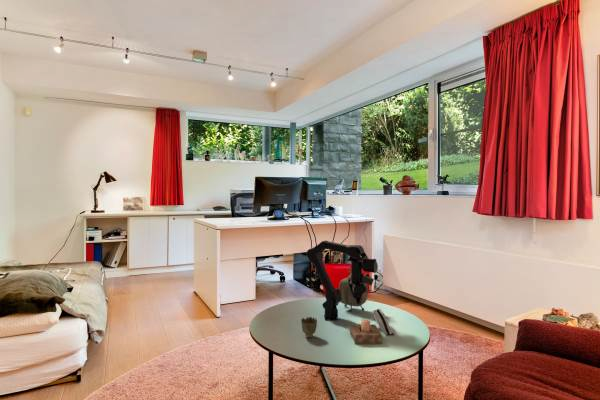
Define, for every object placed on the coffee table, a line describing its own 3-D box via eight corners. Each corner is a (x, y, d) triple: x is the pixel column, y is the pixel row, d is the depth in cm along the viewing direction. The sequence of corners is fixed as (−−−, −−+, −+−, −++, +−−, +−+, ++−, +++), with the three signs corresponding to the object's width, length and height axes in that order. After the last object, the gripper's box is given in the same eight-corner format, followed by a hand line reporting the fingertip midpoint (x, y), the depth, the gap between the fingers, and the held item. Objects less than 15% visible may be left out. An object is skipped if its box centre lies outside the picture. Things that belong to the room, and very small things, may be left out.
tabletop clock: (367, 310, 196) (367, 266, 195) (361, 315, 188) (361, 269, 187) (343, 305, 203) (344, 263, 203) (337, 310, 196) (337, 266, 195)
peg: (362, 340, 156) (362, 322, 156) (360, 336, 160) (360, 319, 160) (370, 340, 157) (371, 322, 156) (368, 336, 161) (369, 319, 160)
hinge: (395, 335, 162) (388, 315, 161) (386, 339, 162) (379, 319, 161) (385, 322, 178) (379, 304, 178) (377, 325, 178) (371, 307, 178)
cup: (305, 341, 154) (305, 323, 154) (298, 335, 161) (298, 318, 161) (320, 338, 158) (320, 321, 158) (312, 332, 164) (312, 315, 164)
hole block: (355, 344, 152) (355, 335, 152) (350, 332, 164) (350, 324, 164) (381, 343, 153) (381, 334, 153) (374, 332, 165) (375, 324, 165)
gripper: (377, 274, 166) (376, 306, 166) (367, 266, 184) (367, 295, 185) (354, 274, 165) (353, 306, 166) (347, 266, 184) (346, 295, 184)
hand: (356, 300), depth 175 cm, fingers open, 9 cm apart
